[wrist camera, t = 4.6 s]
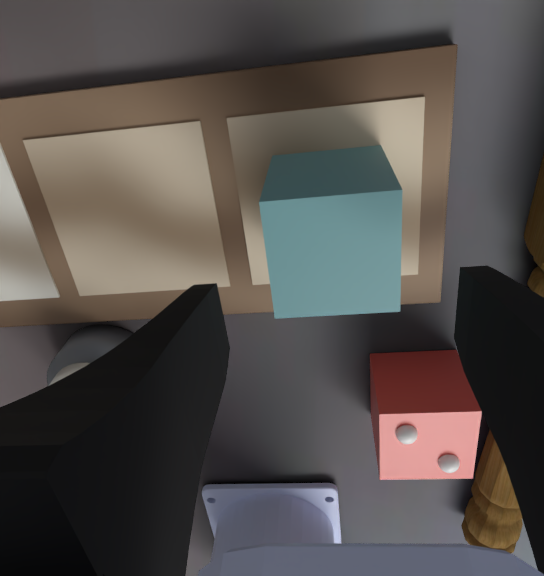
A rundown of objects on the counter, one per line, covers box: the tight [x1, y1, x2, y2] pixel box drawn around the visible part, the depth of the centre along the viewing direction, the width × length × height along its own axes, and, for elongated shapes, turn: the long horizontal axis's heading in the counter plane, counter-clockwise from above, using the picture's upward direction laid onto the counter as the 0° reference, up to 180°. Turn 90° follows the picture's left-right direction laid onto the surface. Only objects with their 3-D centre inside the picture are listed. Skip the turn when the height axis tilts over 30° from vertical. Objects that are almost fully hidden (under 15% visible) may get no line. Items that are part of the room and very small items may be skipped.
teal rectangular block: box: [259, 145, 403, 319], centre depth 17 cm, size 4×4×5 cm
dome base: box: [47, 325, 133, 385], centre depth 24 cm, size 5×5×2 cm
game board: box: [0, 44, 457, 327], centre depth 20 cm, size 10×25×1 cm, turn 97°
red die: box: [370, 350, 482, 480], centre depth 22 cm, size 4×4×4 cm
